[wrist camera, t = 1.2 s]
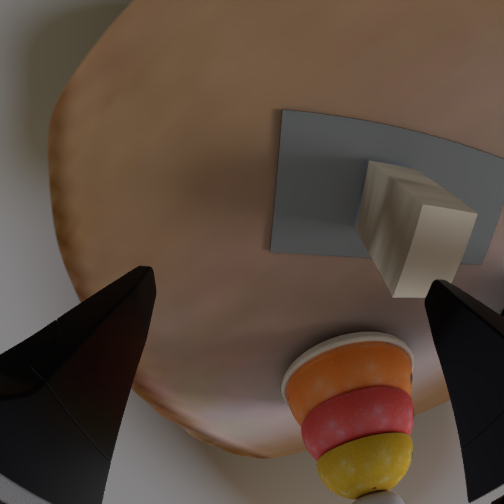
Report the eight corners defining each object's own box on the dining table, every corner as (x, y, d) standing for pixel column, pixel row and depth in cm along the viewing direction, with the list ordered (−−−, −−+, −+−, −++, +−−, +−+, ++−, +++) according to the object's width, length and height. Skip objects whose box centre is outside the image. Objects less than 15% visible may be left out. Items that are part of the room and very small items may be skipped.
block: (396, 230, 21) (445, 297, 14) (353, 226, 21) (392, 297, 14) (411, 166, 18) (477, 213, 11) (366, 158, 18) (422, 204, 11)
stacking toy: (387, 396, 33) (418, 531, 16) (278, 406, 33) (280, 557, 17) (425, 315, 26) (500, 495, 9) (282, 324, 26) (293, 557, 9)
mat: (479, 263, 22) (481, 264, 22) (270, 249, 22) (270, 252, 22) (511, 162, 17) (513, 163, 17) (282, 109, 17) (282, 109, 17)
